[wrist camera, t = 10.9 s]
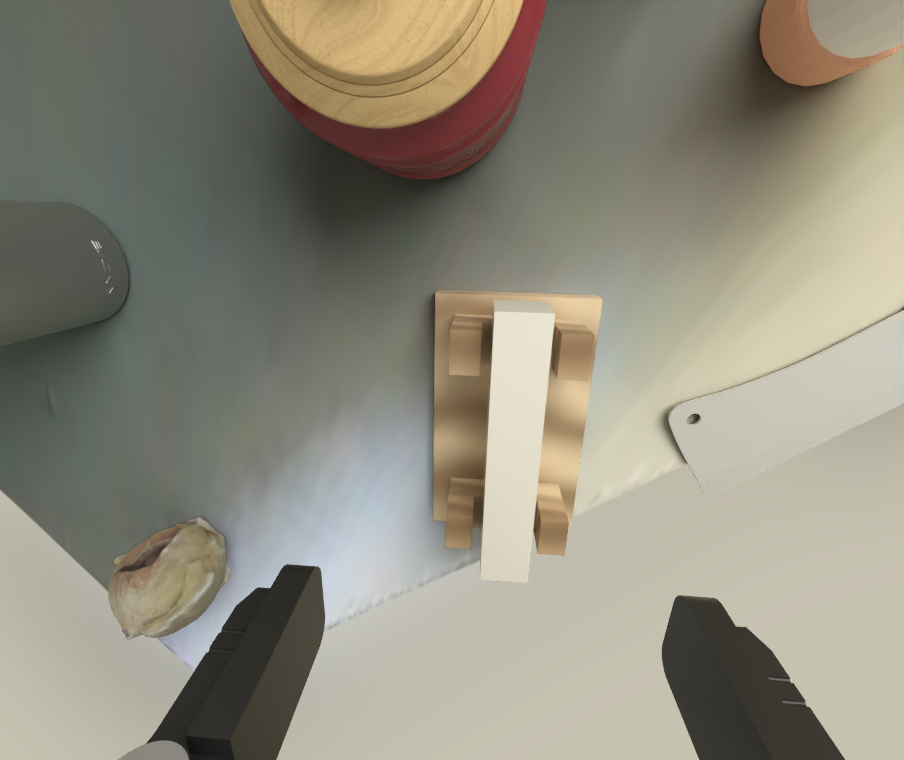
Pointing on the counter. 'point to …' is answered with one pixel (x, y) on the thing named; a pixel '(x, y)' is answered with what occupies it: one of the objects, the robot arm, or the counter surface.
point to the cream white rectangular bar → (514, 435)
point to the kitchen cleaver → (791, 408)
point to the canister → (397, 74)
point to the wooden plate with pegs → (466, 407)
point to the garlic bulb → (168, 579)
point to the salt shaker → (828, 37)
